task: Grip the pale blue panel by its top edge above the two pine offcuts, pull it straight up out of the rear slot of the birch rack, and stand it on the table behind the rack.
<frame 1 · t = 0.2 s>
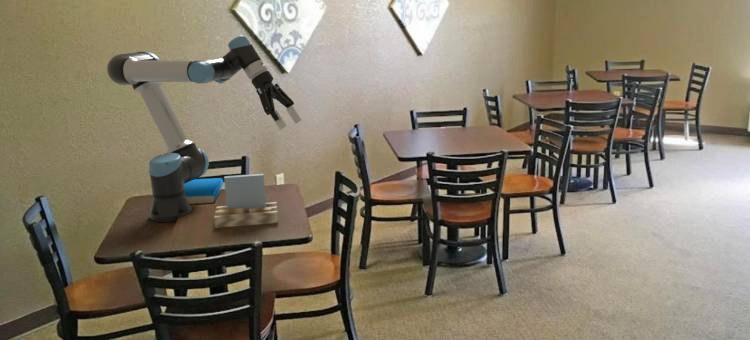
hand: (291, 124, 219), 35 cm above the table, tool tilted 35°, fingers open, 13 cm apart
offcut right: (261, 220, 219), point 1 cm above the table, touching rack
book: (199, 196, 257), on the table
offcut left: (231, 223, 217), point 1 cm above the table, touching rack
rack: (247, 223, 221), on the table
pale blue panel: (247, 217, 223), point 1 cm above the table, touching rack
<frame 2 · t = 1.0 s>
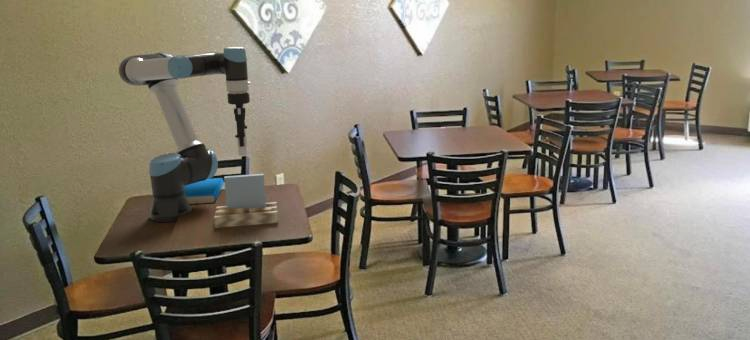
hand: (243, 151, 217), 27 cm above the table, tool pointing down, fingers open, 13 cm apart
nothing on the table moved.
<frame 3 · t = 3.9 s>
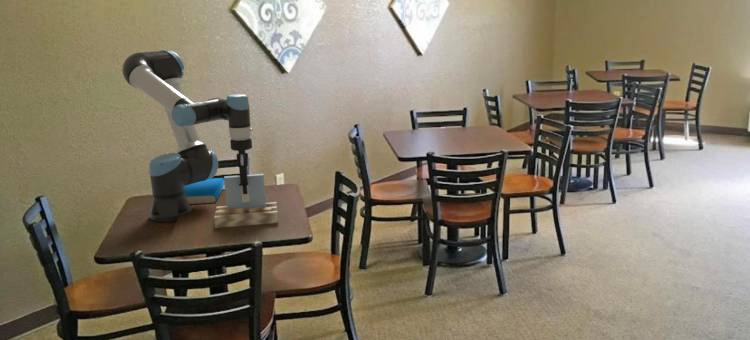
hand: (246, 200, 221), 8 cm above the table, tool pointing down, fingers closed on pale blue panel, 2 cm apart
pale blue panel: (247, 217, 223), point 1 cm above the table, touching gripper, rack
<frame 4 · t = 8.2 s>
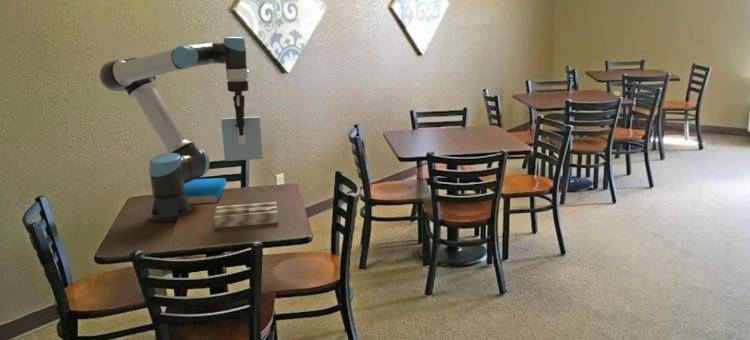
hand: (242, 142, 227), 27 cm above the table, tool pointing down, fingers closed on pale blue panel, 2 cm apart
pale blue panel: (243, 159, 229), point 21 cm above the table, touching gripper
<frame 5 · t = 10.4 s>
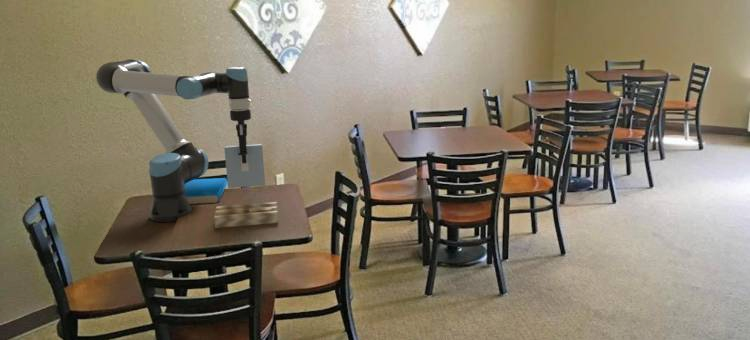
hand: (245, 169, 231), 16 cm above the table, tool pointing down, fingers closed on pale blue panel, 2 cm apart
pale blue panel: (246, 186, 232), point 10 cm above the table, touching gripper
when the fingers open (8 cm above the table, at t = 12.5 s): pale blue panel drops 2 cm, on the table.
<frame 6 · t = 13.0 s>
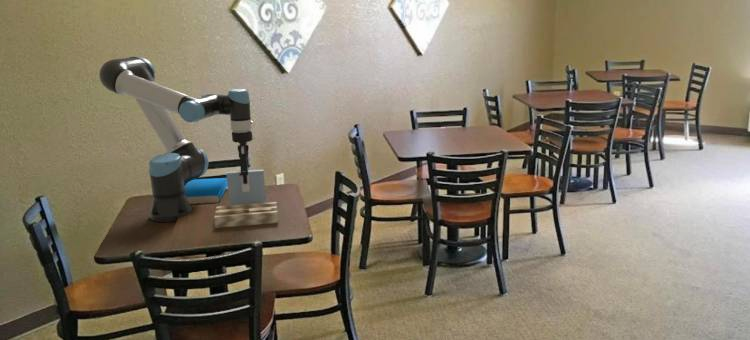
hand: (246, 187, 233), 9 cm above the table, tool pointing down, fingers open, 9 cm apart
pale blue panel: (248, 210, 235), on the table
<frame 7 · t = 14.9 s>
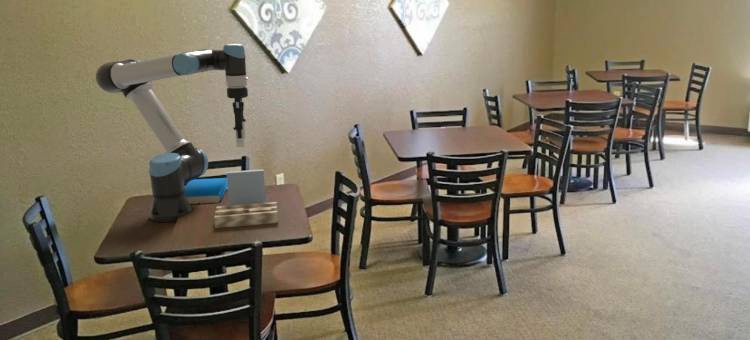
hand: (241, 142, 228), 27 cm above the table, tool pointing down, fingers open, 13 cm apart
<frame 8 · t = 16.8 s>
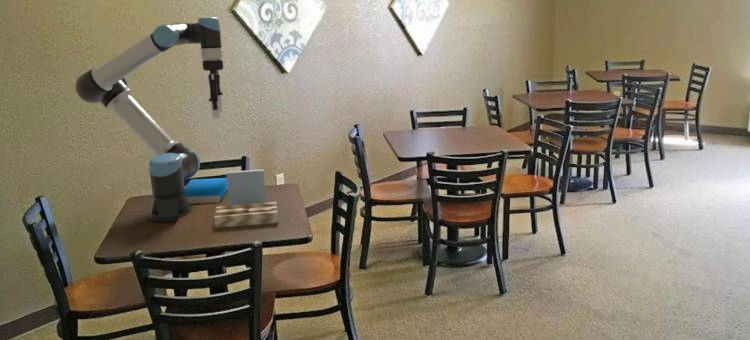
hand: (217, 115, 233), 37 cm above the table, tool pointing down, fingers open, 13 cm apart
at the end: pale blue panel inside the target area (0.0 cm from its centre), on the table; pale blue panel touching table; the gripper is holding nothing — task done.
